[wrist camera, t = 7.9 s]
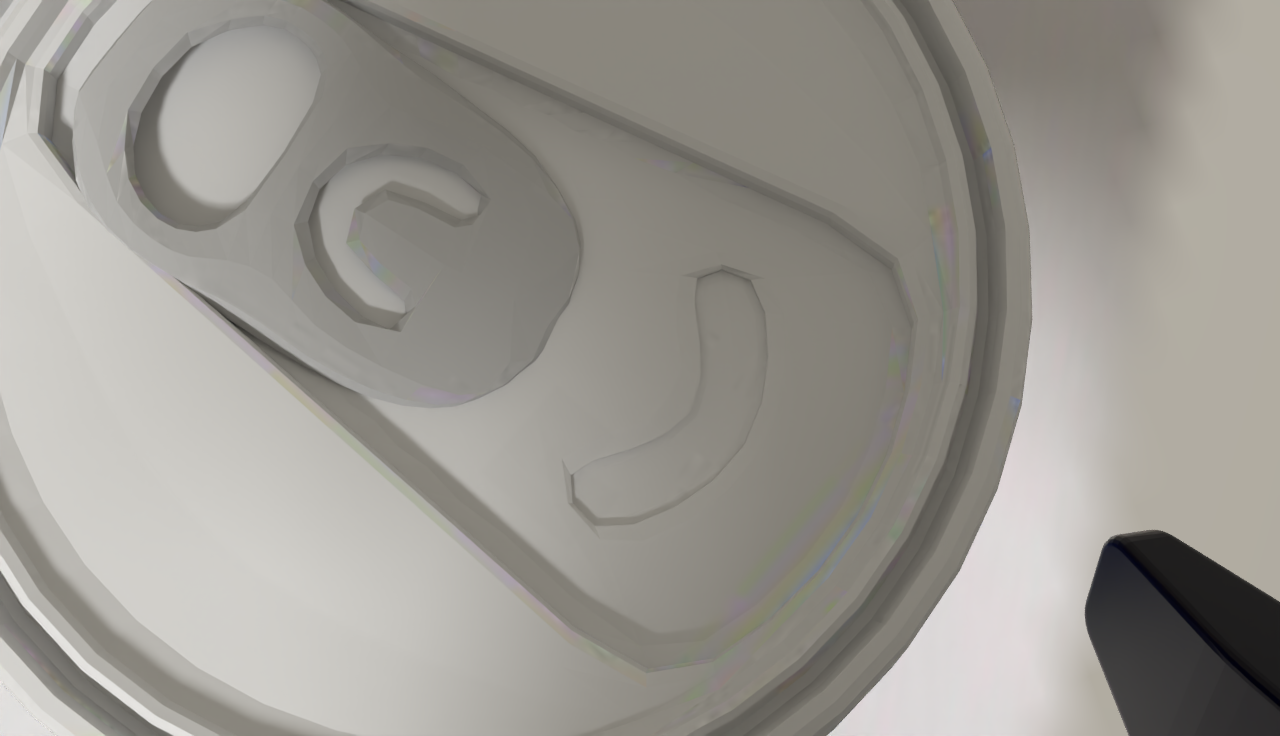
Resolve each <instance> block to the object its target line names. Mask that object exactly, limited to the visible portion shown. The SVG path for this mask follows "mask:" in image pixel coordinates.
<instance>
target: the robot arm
mask: <svg viewBox="0 0 1280 736" xmlns="http://www.w3.org/2000/svg"><path fill="white" fill-rule="evenodd" d="M1085 621H1086V627H1087V631H1088V634H1089V637H1090V640H1091V642H1092V645H1093V647H1094V650H1095V652H1096V655H1097V657H1098V660H1099V662H1100V665H1101V667H1102V670H1103V672H1104V675H1105V677H1106V680H1107V682H1108V685H1109V687H1110V690H1111V692H1112V695H1113V697H1114V700H1115V702H1116V705H1117V707H1118V710H1119V712H1120V715H1121V718H1122V720H1123V723H1124V725H1125V728H1126V730H1127V732H1128V735H1129V736H1280V602H1279V601H1277V600H1276V599H1274V598H1273V597H1271V596H1269V595H1268V594H1266V593H1265V592H1263V591H1261V590H1259V589H1258V588H1256V587H1255V586H1253V585H1252V584H1250V583H1248V582H1247V581H1245V580H1243V579H1242V578H1240V577H1239V576H1237V575H1235V574H1234V573H1232V572H1231V571H1229V570H1227V569H1226V568H1224V567H1223V566H1221V565H1219V564H1217V563H1216V562H1214V561H1213V560H1211V559H1209V558H1208V557H1206V556H1204V555H1203V554H1202V553H1200V552H1198V551H1197V550H1195V549H1193V548H1192V547H1190V546H1188V545H1187V544H1185V543H1184V542H1182V541H1180V540H1179V539H1177V538H1176V537H1174V536H1172V535H1170V534H1168V533H1166V532H1163V531H1159V530H1146V531H1140V532H1133V533H1126V534H1120V535H1115V536H1113V537H1111V538H1110V539H1109V540H1108V541H1107V542H1106V543H1105V544H1104V546H1103V548H1102V551H1101V554H1100V558H1099V561H1098V564H1097V567H1096V571H1095V574H1094V577H1093V581H1092V584H1091V587H1090V591H1089V594H1088V597H1087V600H1086V605H1085Z"/></svg>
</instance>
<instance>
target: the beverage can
mask: <svg viewBox="0 0 1280 736" xmlns="http://www.w3.org/2000/svg"><path fill="white" fill-rule="evenodd" d="M1031 324H1032V298H1031V265H1030V233H1029V225H1028V220H1027V214H1026V209H1025V203H1024V198H1023V192H1022V187H1021V181H1020V176H1019V170H1018V165H1017V159H1016V154H1015V148H1014V144H1013V141H1012V138H1011V135H1010V132H1009V129H1008V126H1007V123H1006V120H1005V118H1004V115H1003V112H1002V109H1001V106H1000V103H999V100H998V97H997V94H996V91H995V88H994V86H993V83H992V80H991V77H990V74H989V71H988V68H987V65H986V63H985V62H984V60H983V58H982V56H981V54H980V52H979V50H978V48H977V46H976V44H975V42H974V41H973V39H972V37H971V35H970V33H969V31H968V29H967V27H966V25H965V23H964V21H963V20H962V18H961V16H960V14H959V12H958V10H957V8H956V6H955V4H954V2H953V0H0V682H1V683H2V684H3V685H4V686H5V687H6V688H7V689H8V690H9V692H10V693H11V694H12V695H13V696H14V697H15V698H16V699H17V700H18V701H19V702H20V704H21V705H22V706H23V707H24V708H25V709H26V710H27V711H28V712H29V713H30V715H31V716H32V717H33V718H34V719H35V720H37V721H38V722H39V723H41V724H42V725H43V726H44V727H46V728H47V729H48V730H50V731H51V732H52V733H54V734H55V735H56V736H826V735H828V734H829V733H830V732H831V731H833V730H834V729H835V728H836V726H837V725H838V724H839V723H840V722H841V721H842V720H843V719H844V718H845V717H846V716H847V715H848V714H849V713H850V712H851V710H852V709H853V708H854V707H855V706H856V705H857V704H858V703H859V702H860V701H861V700H862V699H863V698H864V697H865V695H866V694H867V693H868V692H869V691H870V690H871V689H872V688H873V687H874V686H875V685H876V684H877V683H878V682H879V681H880V679H881V678H882V677H883V676H884V675H885V674H886V673H887V672H888V671H889V670H890V669H891V668H892V667H893V665H894V664H895V663H896V662H897V660H898V659H899V658H900V657H901V655H902V654H903V653H904V652H905V650H906V649H907V648H908V647H909V645H910V644H911V642H912V641H913V639H914V638H915V636H916V635H917V633H918V632H919V630H920V629H921V627H922V626H923V624H924V623H925V621H926V620H927V618H928V617H929V615H930V614H931V612H932V611H933V609H934V608H935V607H936V605H937V604H938V602H939V601H940V599H941V598H942V596H943V595H944V593H945V592H946V590H947V589H948V587H949V586H950V584H951V583H952V581H953V580H954V578H955V577H956V575H957V574H958V572H959V571H960V569H961V567H962V564H963V562H964V560H965V558H966V556H967V554H968V551H969V549H970V547H971V545H972V543H973V541H974V539H975V536H976V534H977V532H978V530H979V528H980V526H981V523H982V521H983V519H984V517H985V515H986V513H987V511H988V508H989V506H990V504H991V502H992V500H993V498H994V496H995V493H996V491H997V489H998V485H999V482H1000V478H1001V475H1002V471H1003V468H1004V464H1005V461H1006V457H1007V454H1008V450H1009V447H1010V443H1011V440H1012V436H1013V433H1014V429H1015V426H1016V422H1017V419H1018V416H1019V412H1020V409H1021V405H1022V397H1023V389H1024V381H1025V373H1026V365H1027V357H1028V348H1029V340H1030V332H1031Z"/></svg>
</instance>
